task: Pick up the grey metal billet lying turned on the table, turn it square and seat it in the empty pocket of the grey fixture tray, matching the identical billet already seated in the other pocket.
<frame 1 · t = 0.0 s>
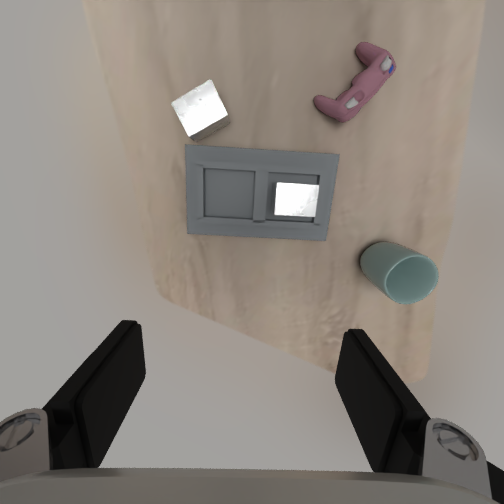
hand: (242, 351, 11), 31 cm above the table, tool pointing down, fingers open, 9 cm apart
billet: (205, 118, 35), on the table
video game controller: (346, 90, 35), on the table
grey fixture tray: (259, 195, 39), on the table
cup: (374, 257, 43), on the table
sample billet: (290, 197, 38), point 1 cm above the table, touching grey fixture tray
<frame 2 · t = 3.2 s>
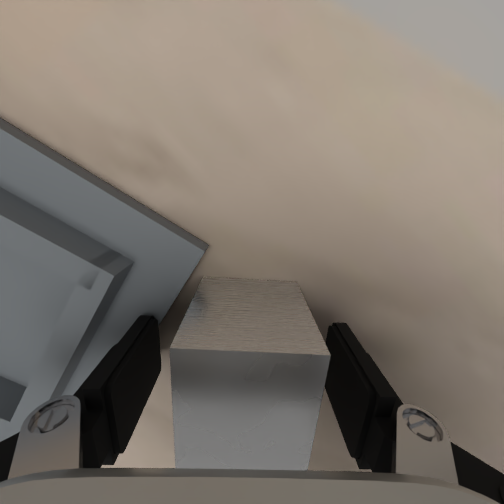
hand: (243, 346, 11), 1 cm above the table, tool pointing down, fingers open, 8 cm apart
billet: (246, 330, 12), on the table
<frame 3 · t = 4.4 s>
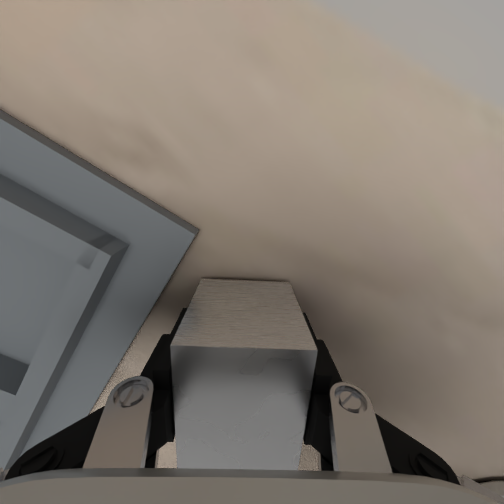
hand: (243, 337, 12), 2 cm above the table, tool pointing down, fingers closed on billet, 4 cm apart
billet: (243, 330, 13), on the table, touching gripper
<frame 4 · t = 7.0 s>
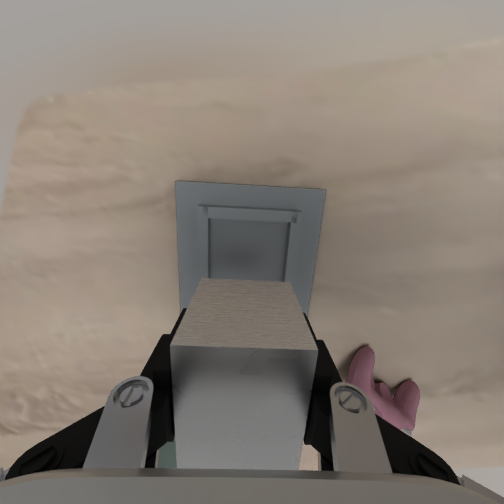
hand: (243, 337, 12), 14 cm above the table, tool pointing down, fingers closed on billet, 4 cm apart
billet: (243, 330, 13), point 12 cm above the table, touching gripper
video game controller: (371, 374, 30), on the table
grey fixture tray: (245, 296, 26), on the table
cup: (166, 432, 32), on the table
when the fingers open (3 cm above the table, at t = 9.5 s): billet stays where it is, resting on grey fixture tray.
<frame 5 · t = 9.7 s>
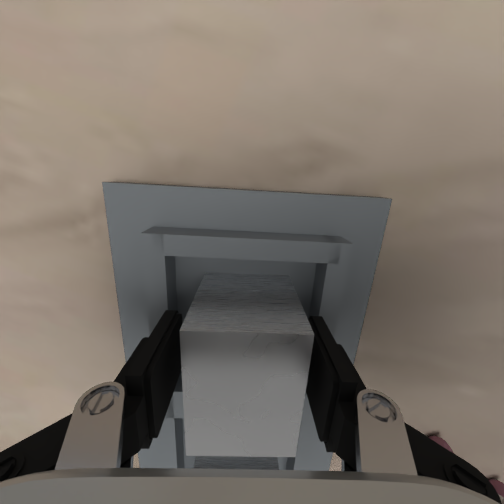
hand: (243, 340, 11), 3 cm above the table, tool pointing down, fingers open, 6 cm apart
billet: (245, 321, 13), point 1 cm above the table, touching grey fixture tray
grey fixture tray: (240, 372, 16), on the table
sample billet: (237, 440, 16), point 1 cm above the table, touching grey fixture tray
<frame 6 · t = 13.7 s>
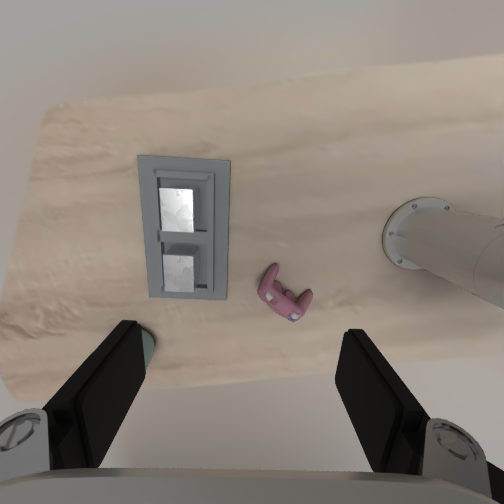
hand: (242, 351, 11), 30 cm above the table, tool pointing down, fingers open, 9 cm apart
billet: (185, 206, 37), point 1 cm above the table, touching grey fixture tray
video game controller: (283, 286, 44), on the table
grey fixture tray: (187, 233, 40), on the table
cup: (140, 338, 46), on the table
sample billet: (186, 262, 40), point 1 cm above the table, touching grey fixture tray
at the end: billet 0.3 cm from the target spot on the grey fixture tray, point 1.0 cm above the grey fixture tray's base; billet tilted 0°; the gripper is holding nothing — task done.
